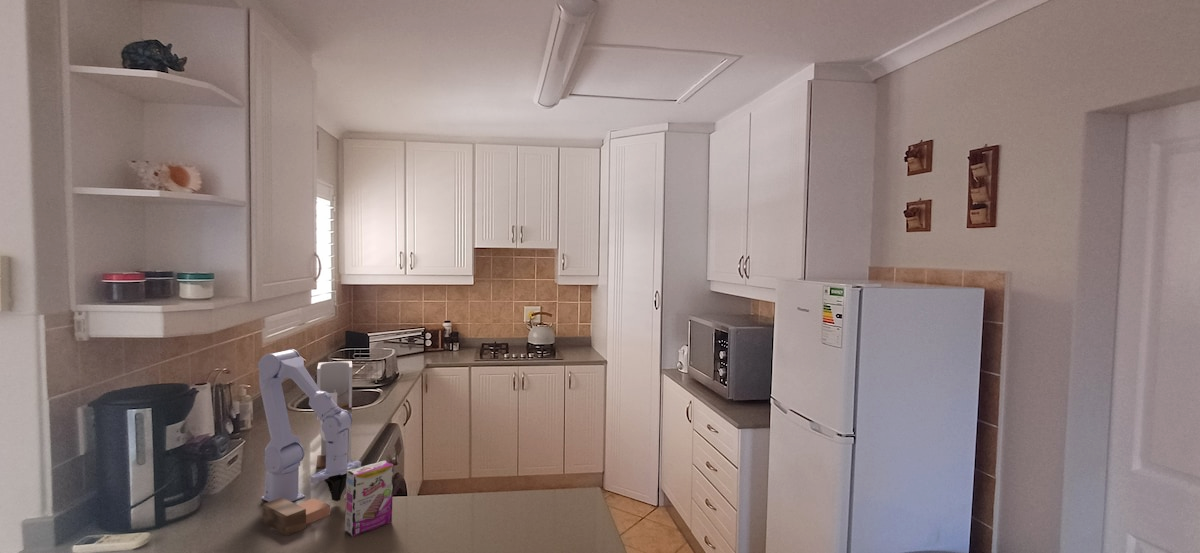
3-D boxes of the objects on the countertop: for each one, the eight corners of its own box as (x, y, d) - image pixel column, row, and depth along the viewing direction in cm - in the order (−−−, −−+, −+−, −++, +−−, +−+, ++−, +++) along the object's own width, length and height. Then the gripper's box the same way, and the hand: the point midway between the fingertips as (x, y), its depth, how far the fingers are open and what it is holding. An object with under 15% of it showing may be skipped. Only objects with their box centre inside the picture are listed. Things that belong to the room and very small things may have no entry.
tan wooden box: (262, 522, 147) (262, 503, 147) (281, 515, 152) (281, 497, 151) (286, 535, 141) (286, 516, 141) (305, 528, 145) (305, 508, 145)
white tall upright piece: (317, 461, 192) (318, 362, 191) (350, 457, 196) (351, 360, 195) (315, 473, 182) (317, 368, 180) (350, 468, 186) (352, 366, 185)
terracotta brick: (289, 518, 151) (289, 507, 151) (313, 508, 157) (313, 498, 157) (306, 525, 147) (306, 514, 147) (330, 515, 153) (330, 505, 153)
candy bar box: (353, 538, 141) (354, 475, 140) (344, 531, 144) (344, 470, 144) (393, 522, 150) (394, 463, 149) (383, 516, 153) (384, 459, 152)
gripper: (320, 464, 150) (320, 512, 151) (367, 449, 162) (366, 494, 163) (306, 458, 154) (305, 506, 154) (353, 444, 166) (352, 488, 167)
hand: (336, 499), depth 159 cm, fingers closed
